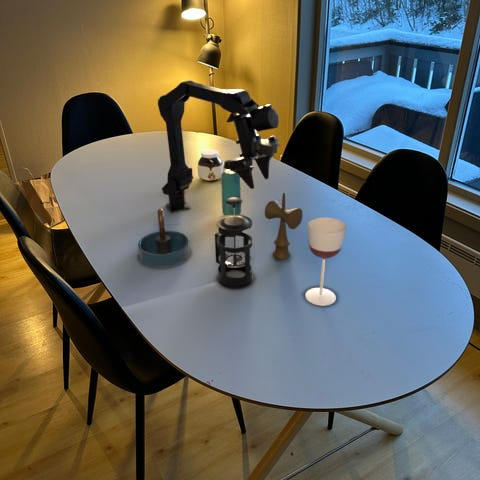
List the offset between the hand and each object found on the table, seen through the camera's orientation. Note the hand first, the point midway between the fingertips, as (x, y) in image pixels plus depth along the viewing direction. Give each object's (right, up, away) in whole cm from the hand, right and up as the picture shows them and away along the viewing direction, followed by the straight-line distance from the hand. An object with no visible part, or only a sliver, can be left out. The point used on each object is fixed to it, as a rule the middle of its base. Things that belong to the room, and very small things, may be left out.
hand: (259, 183), depth 137 cm
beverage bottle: (-9, -10, +15) cm, 20 cm away
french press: (-8, -27, -18) cm, 33 cm away
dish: (-28, -21, -7) cm, 36 cm away
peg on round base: (-28, -21, -7) cm, 36 cm away
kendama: (+6, -22, -8) cm, 24 cm away
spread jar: (-17, +7, +48) cm, 52 cm away
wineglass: (+14, -31, -26) cm, 42 cm away
